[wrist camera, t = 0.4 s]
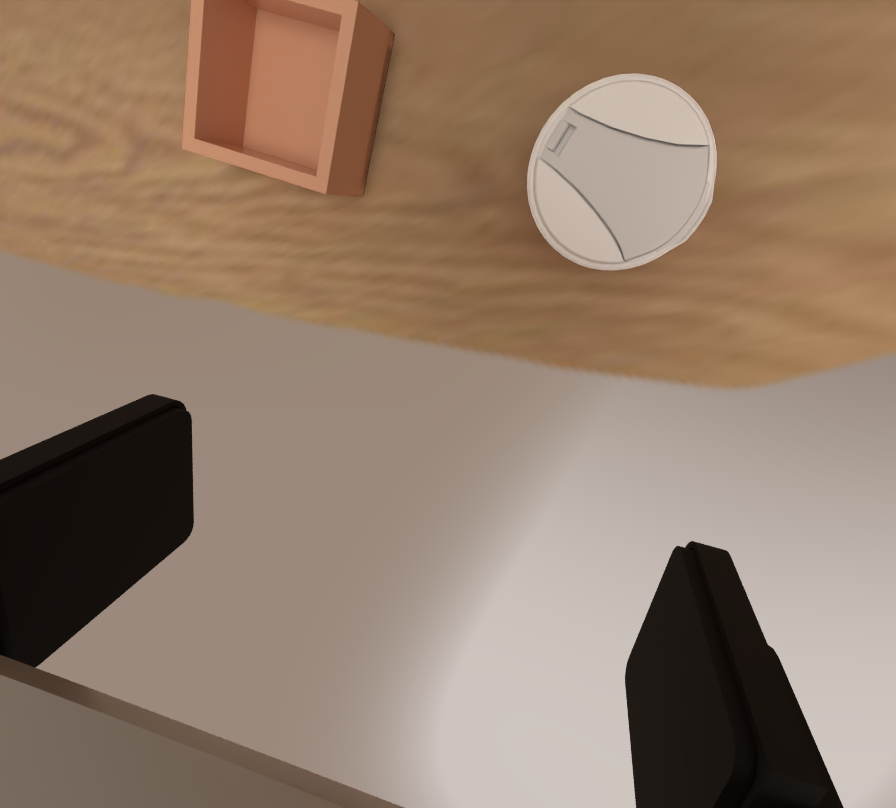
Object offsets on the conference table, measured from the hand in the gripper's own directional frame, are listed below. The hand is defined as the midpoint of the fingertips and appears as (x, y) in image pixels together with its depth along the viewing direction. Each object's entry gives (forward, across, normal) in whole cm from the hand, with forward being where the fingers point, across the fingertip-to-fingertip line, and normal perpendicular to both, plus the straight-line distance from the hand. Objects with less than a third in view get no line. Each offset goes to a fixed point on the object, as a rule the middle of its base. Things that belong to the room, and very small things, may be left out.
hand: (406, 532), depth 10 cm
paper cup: (+30, -3, -7) cm, 31 cm away
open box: (+30, +18, -10) cm, 36 cm away
